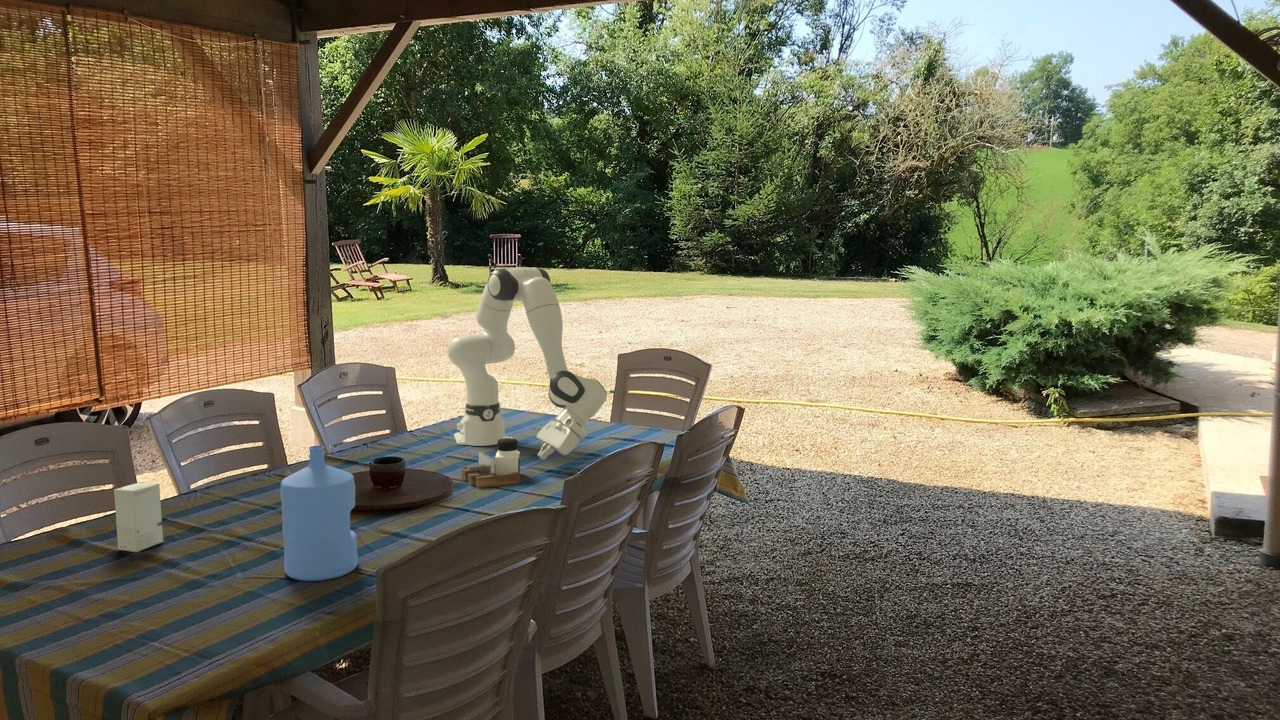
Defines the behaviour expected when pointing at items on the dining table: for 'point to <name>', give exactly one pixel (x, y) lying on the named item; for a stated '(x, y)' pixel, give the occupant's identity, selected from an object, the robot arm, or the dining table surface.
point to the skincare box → (138, 516)
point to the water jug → (318, 521)
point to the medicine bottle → (507, 456)
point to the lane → (488, 478)
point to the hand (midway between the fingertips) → (540, 457)
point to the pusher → (484, 465)
